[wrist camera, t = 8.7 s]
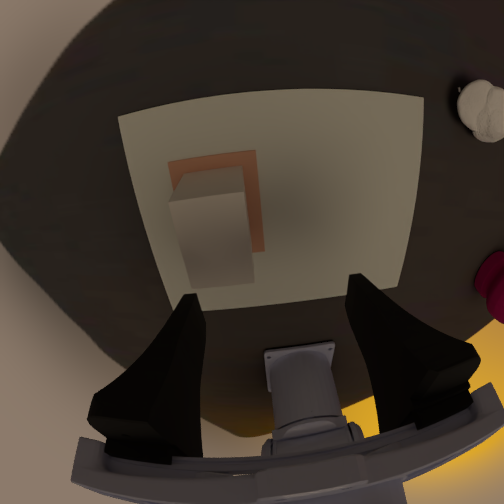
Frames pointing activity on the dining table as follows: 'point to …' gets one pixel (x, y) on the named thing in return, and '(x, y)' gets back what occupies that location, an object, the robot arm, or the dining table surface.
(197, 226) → the plain grayish brown block
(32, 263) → the dining table surface
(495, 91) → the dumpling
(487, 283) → the pepper mill
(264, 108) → the mat
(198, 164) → the flat orange brown slab
